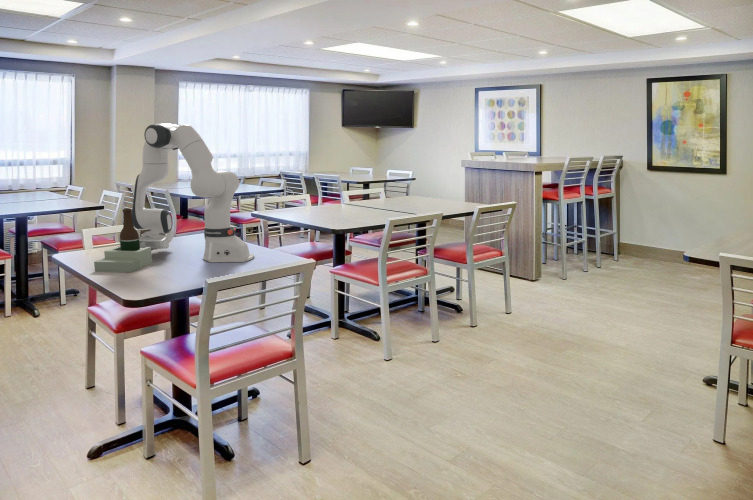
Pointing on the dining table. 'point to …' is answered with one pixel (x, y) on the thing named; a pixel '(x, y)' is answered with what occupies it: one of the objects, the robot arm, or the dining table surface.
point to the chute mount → (123, 260)
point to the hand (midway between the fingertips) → (135, 246)
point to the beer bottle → (129, 233)
